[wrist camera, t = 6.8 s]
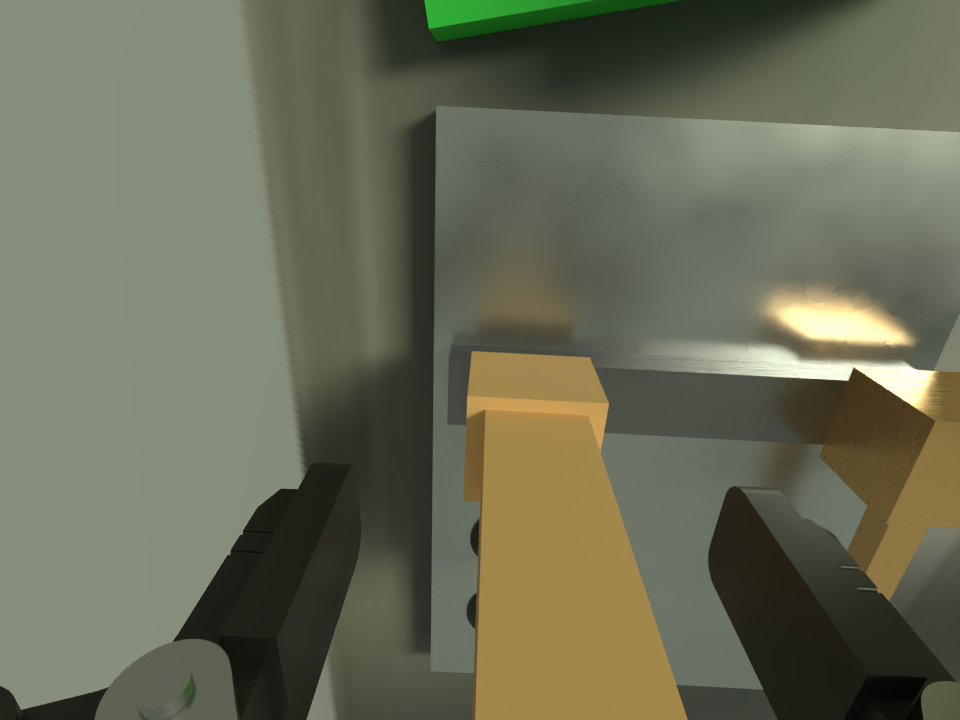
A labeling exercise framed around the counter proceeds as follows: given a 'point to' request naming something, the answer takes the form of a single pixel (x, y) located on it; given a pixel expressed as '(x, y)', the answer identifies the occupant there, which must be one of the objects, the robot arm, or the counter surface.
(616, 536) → the leg
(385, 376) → the counter surface
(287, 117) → the counter surface
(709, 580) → the plate
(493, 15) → the mechanical part
